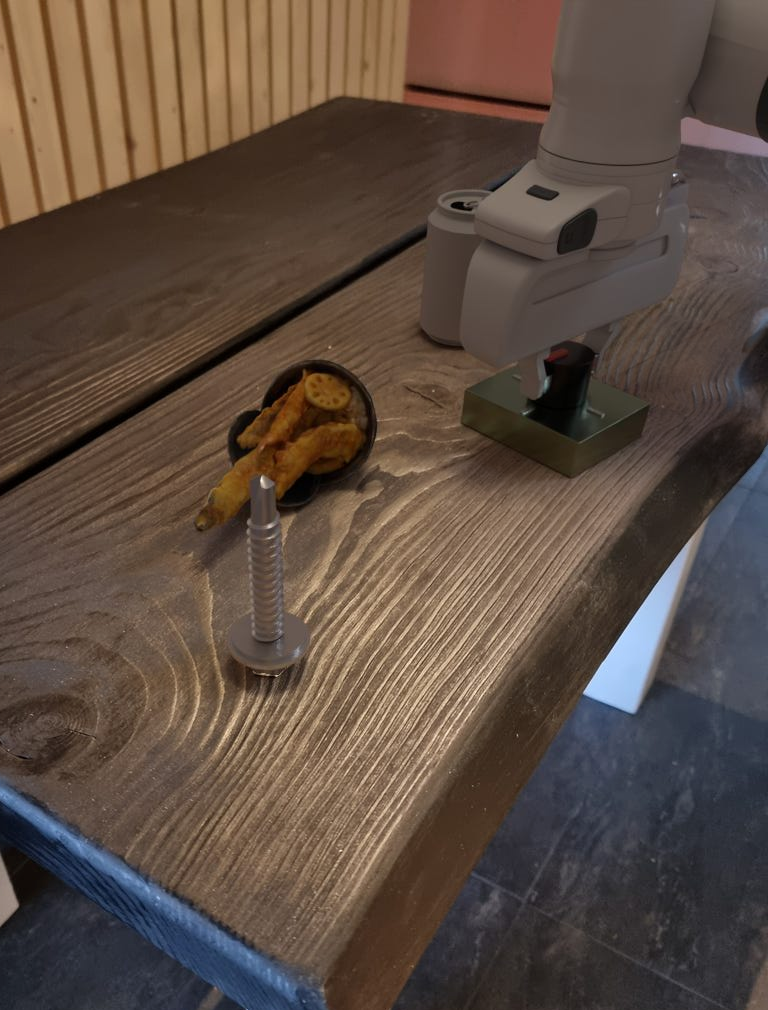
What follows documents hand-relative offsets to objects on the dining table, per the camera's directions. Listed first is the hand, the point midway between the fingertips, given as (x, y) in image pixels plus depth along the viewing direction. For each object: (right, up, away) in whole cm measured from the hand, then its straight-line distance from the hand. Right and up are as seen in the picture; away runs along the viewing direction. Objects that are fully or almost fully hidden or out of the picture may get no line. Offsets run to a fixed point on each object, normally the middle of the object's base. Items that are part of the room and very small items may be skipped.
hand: (559, 383), depth 71 cm
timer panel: (0, -3, +3) cm, 4 cm away
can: (-5, +9, +16) cm, 19 cm away
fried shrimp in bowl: (-21, -9, -3) cm, 23 cm away
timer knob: (0, -1, +1) cm, 1 cm away
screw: (-22, -21, -16) cm, 35 cm away
